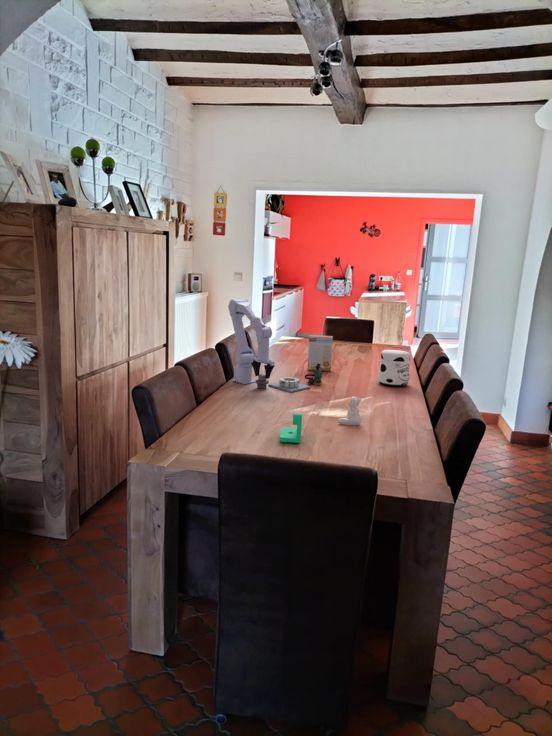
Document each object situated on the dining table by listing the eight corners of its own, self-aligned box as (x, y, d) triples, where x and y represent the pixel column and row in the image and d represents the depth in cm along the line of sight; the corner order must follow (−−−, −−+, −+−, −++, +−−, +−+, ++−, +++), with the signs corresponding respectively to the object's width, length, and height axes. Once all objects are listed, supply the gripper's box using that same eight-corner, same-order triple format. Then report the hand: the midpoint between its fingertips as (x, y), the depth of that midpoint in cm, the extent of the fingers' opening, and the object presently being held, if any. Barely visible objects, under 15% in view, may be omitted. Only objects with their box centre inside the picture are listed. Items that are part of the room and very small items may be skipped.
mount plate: (268, 386, 280) (268, 384, 280) (286, 382, 290) (287, 380, 290) (291, 392, 270) (291, 390, 269) (309, 388, 280) (309, 386, 279)
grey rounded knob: (252, 388, 275) (252, 374, 274) (261, 386, 280) (262, 372, 279) (261, 390, 271) (262, 377, 269) (271, 388, 276) (271, 375, 274)
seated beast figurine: (348, 418, 232) (350, 392, 229) (366, 423, 226) (368, 396, 224) (336, 423, 224) (338, 396, 222) (354, 428, 219) (356, 400, 216)
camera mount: (281, 433, 210) (282, 408, 208) (301, 434, 210) (302, 409, 207) (279, 444, 198) (280, 417, 196) (300, 445, 198) (301, 418, 196)
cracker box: (330, 369, 326) (333, 335, 321) (330, 372, 320) (333, 337, 315) (307, 368, 327) (309, 334, 322) (307, 370, 321) (309, 335, 316)
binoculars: (305, 363, 294) (323, 363, 292) (306, 382, 296) (324, 382, 294) (302, 366, 285) (321, 366, 283) (303, 385, 287) (322, 385, 285)
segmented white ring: (275, 384, 280) (275, 378, 279) (288, 382, 287) (288, 376, 286) (289, 388, 273) (289, 382, 272) (302, 385, 280) (303, 380, 279)
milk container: (409, 389, 287) (412, 356, 283) (376, 386, 290) (379, 353, 286) (408, 382, 303) (411, 350, 299) (377, 379, 306) (379, 348, 303)
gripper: (247, 349, 273) (246, 375, 276) (267, 354, 264) (266, 381, 266) (257, 348, 278) (256, 373, 281) (277, 352, 269) (276, 379, 271)
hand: (262, 377), depth 274 cm, fingers open, 7 cm apart
